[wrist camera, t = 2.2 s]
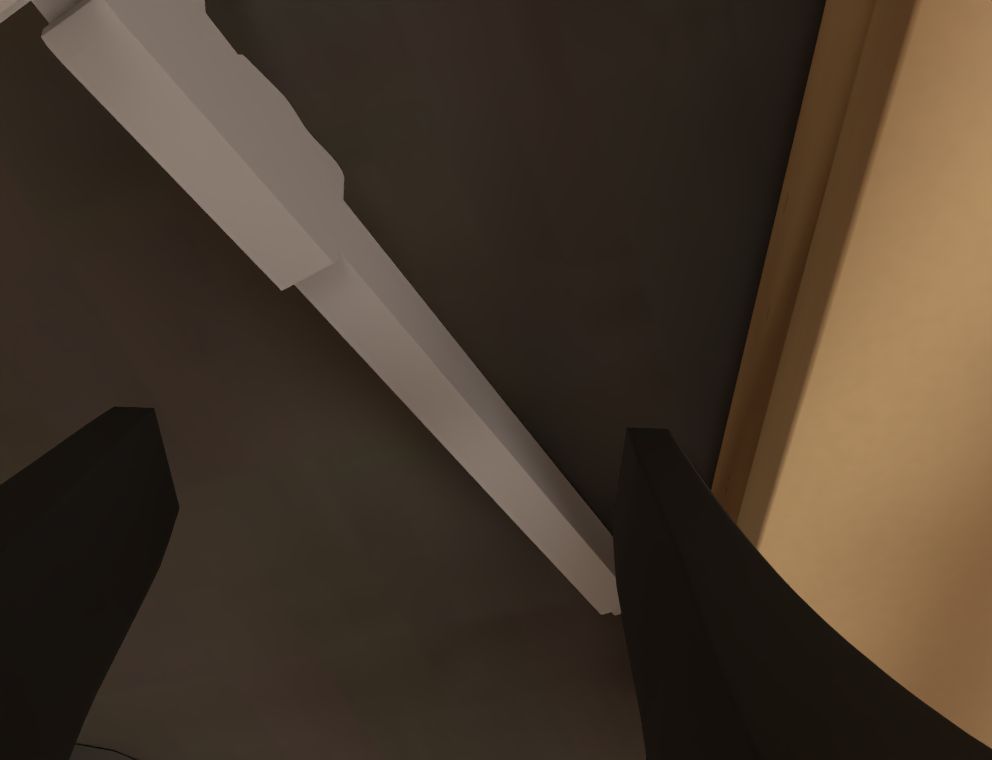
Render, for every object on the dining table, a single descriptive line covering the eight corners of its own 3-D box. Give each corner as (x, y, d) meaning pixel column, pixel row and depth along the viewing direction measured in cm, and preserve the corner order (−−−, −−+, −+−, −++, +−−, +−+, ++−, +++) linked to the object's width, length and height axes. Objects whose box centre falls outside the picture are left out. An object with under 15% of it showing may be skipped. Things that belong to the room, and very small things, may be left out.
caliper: (49, -206, 12) (-292, -227, 7) (102, -251, 12) (-216, -307, 7) (615, 601, 22) (642, 838, 17) (653, 588, 22) (692, 826, 17)
